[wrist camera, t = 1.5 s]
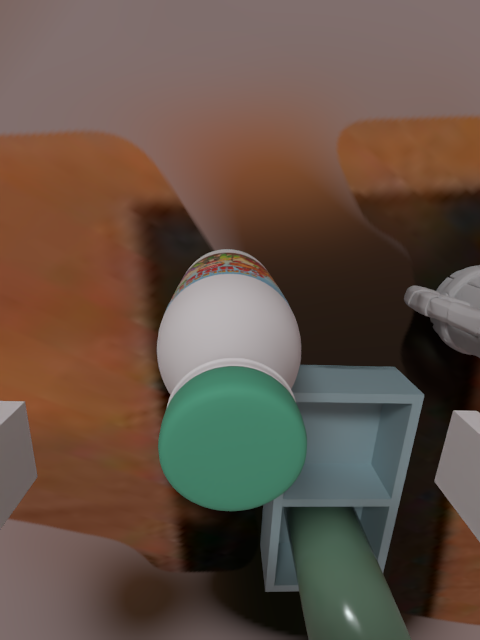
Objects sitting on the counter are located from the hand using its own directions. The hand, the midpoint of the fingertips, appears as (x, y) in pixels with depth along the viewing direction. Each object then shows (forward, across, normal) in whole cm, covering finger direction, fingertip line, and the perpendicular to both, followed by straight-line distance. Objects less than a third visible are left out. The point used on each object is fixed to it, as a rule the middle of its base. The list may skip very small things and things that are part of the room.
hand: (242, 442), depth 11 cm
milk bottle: (+20, 0, 0) cm, 20 cm away
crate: (+19, +10, -17) cm, 28 cm away
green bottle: (+19, +10, -22) cm, 31 cm away
